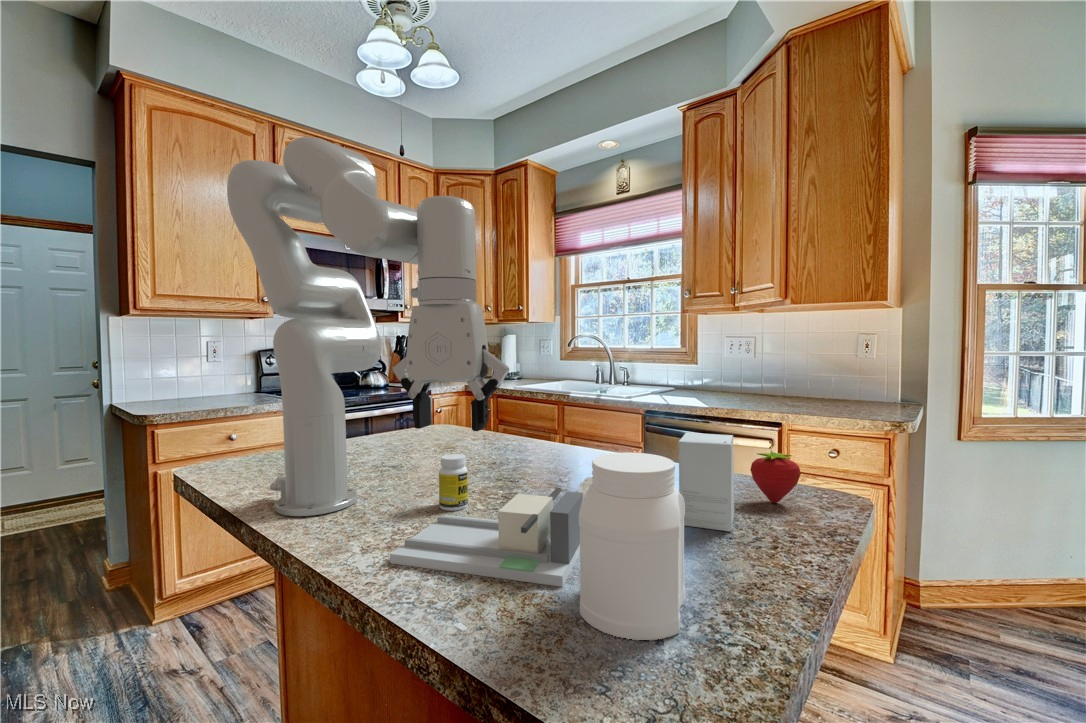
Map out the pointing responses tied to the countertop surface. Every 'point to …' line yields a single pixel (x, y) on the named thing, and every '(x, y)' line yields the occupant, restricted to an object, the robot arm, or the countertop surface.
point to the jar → (632, 547)
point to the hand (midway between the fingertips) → (450, 427)
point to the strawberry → (775, 475)
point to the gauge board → (496, 547)
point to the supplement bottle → (453, 483)
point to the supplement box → (707, 480)
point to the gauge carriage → (526, 522)
